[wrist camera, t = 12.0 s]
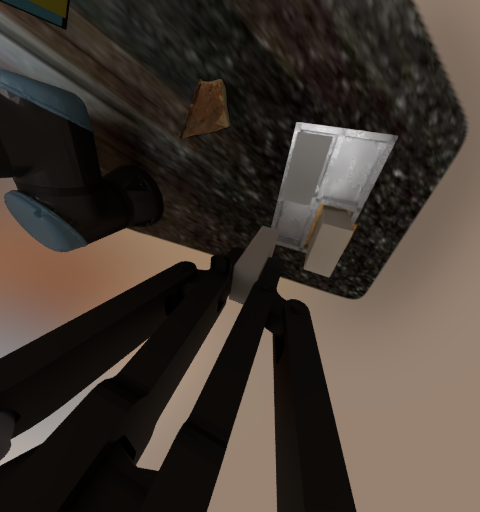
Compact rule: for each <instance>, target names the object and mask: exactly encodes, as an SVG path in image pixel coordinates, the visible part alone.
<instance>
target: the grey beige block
mask: <svg viewBox="0 0 480 512" xmlns="http://www.w3.org/2000/svg"><path fill="white" fill-rule="evenodd" d="M353 232H354V231H353V227H352V224H351V221H350V217H349V214H348V210H345V209H341V208H337V207H332V206H328V205H323V208H322V210H321V213H320V215H319V218H318V220H317V223H316V225H315V228H314V230H313V233H312V236H311V238H310V241H309V243H308V249H307V254H306V259H305V264H304V269H305V270H308V271H311V272H314V273H317V274H320V275H323V276H326V277H330V275H331V273H332V272H333V270H334V268H335V266H336V264H337V262H338V260H339V258H340V256H341V255H342V253H343V251H344V249H345V247H346V245H347V243H348V241H349V240H350V238H351V236H352V234H353Z"/></svg>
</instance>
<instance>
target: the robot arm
mask: <svg viewBox="0 0 480 512" xmlns="http://www.w3.org/2000/svg"><path fill="white" fill-rule="evenodd" d="M93 133H94V130H93V129H92V127H91V124H90V120H89V116H88V112H87V109H86V106H85V104H84V103H83V101H82V100H81V99H80V98H79V97H78V96H77V95H75V94H74V93H72V92H69V91H67V90H64V89H61V88H58V87H55V86H52V85H49V84H46V83H43V82H40V81H37V80H34V79H31V78H28V77H25V76H22V75H19V74H16V73H13V72H10V71H7V70H4V69H0V178H9V177H12V178H13V180H14V182H15V184H16V186H17V189H18V190H11V191H10V192H8V193H6V194H5V195H4V199H5V204H6V206H7V208H8V210H9V211H10V213H11V214H12V215H13V217H14V218H15V219H16V220H17V222H18V223H19V224H20V225H21V226H22V227H23V228H24V229H25V230H26V231H27V232H28V233H29V234H30V235H31V236H32V237H34V238H35V239H36V240H37V241H39V242H40V243H42V244H43V245H44V246H46V247H48V248H50V249H52V250H54V251H58V252H68V251H71V250H74V249H77V248H80V247H84V246H87V245H88V244H90V243H92V242H94V241H97V240H99V239H101V238H104V237H106V236H108V235H111V234H113V233H115V232H118V231H120V230H122V229H125V228H130V227H146V226H149V225H152V224H154V223H156V222H157V221H159V219H160V218H161V216H162V213H163V201H162V196H161V193H160V191H159V189H158V187H157V185H156V183H155V182H154V180H153V179H152V178H151V177H150V176H149V175H148V174H147V173H146V172H145V171H144V170H142V169H141V168H139V167H136V166H131V165H129V166H121V167H118V168H116V169H114V170H113V171H111V172H109V173H108V174H106V175H105V176H103V177H102V176H101V171H100V166H99V162H98V156H97V151H96V146H95V141H94V136H93ZM278 234H279V230H276V229H272V228H269V227H265V226H262V227H261V229H260V230H259V232H258V233H257V234H256V236H255V237H254V239H253V240H252V241H251V243H250V244H249V246H248V247H247V249H246V250H245V249H242V248H239V247H235V248H233V249H231V250H230V252H229V253H228V254H227V255H214V256H212V257H211V267H210V269H209V270H199V269H197V268H196V265H195V264H194V263H192V262H188V261H184V262H180V263H177V264H175V265H174V266H172V267H170V268H168V269H166V270H164V271H162V272H161V273H159V274H157V275H155V276H153V277H151V278H149V279H147V280H145V281H144V282H142V283H140V284H138V285H136V286H135V287H133V288H131V289H129V290H127V291H125V292H124V293H122V294H120V295H118V296H116V297H114V298H112V299H110V300H108V301H106V302H105V303H103V304H101V305H99V306H97V307H95V308H93V309H92V310H90V311H88V312H86V313H84V314H82V315H81V316H79V317H77V318H75V319H73V320H71V321H69V322H67V323H66V324H64V325H62V326H60V327H58V328H56V329H55V330H52V331H51V332H49V333H47V334H45V335H43V336H41V337H40V338H38V339H36V340H34V341H32V342H30V343H28V344H26V345H25V346H23V347H21V348H19V349H17V350H15V351H13V352H12V353H10V354H8V355H6V356H4V357H2V358H0V460H1V459H2V458H3V457H5V455H6V454H7V453H8V451H9V450H10V447H11V441H10V440H11V439H12V438H14V437H16V436H17V435H19V434H21V433H23V432H25V431H26V430H28V429H30V428H31V427H33V426H34V425H36V424H37V423H39V422H41V421H42V420H44V419H45V418H47V417H48V416H50V415H51V414H52V413H54V412H55V411H56V410H58V409H59V408H60V407H61V406H63V405H64V404H66V403H67V402H68V401H69V400H71V399H72V398H73V397H74V396H76V395H77V394H78V393H79V392H81V391H82V390H83V389H85V388H86V387H87V386H88V385H90V384H91V383H92V382H94V381H95V380H96V379H97V378H99V377H100V376H101V375H102V374H104V373H105V372H106V371H108V369H110V368H111V367H113V366H114V365H115V364H116V363H118V362H119V361H120V360H121V359H123V358H124V357H125V356H127V354H129V353H130V352H132V351H133V350H134V349H135V348H137V347H138V346H139V345H140V344H142V343H143V342H144V341H146V340H147V339H148V338H149V337H150V338H149V339H148V340H147V341H146V342H145V343H144V345H143V346H142V347H141V348H140V349H139V350H138V352H137V353H136V354H135V355H134V356H133V357H132V358H131V360H130V361H129V362H128V363H127V364H126V365H125V366H124V367H123V369H122V370H121V371H120V372H119V373H118V374H117V375H116V376H114V377H113V378H110V379H105V380H104V381H102V382H101V383H99V384H98V385H97V386H96V387H95V388H94V389H93V390H91V392H90V393H89V394H88V395H87V396H86V397H85V398H84V399H83V400H82V401H81V402H80V404H79V405H78V406H77V407H76V408H75V409H74V410H73V411H72V412H71V413H70V414H69V415H68V417H67V418H66V419H65V420H64V421H63V422H62V423H61V424H60V425H59V426H58V427H57V428H56V430H55V431H54V432H53V433H52V434H51V435H50V436H49V437H48V438H47V439H46V440H45V441H44V442H43V443H42V444H40V445H38V446H36V447H35V448H33V449H31V450H29V451H27V452H25V453H23V454H21V455H19V456H18V457H16V458H14V459H12V460H10V461H8V462H6V463H4V464H3V465H1V466H0V512H207V509H208V506H209V503H210V500H211V496H212V493H213V490H214V487H215V483H216V480H217V477H218V474H219V471H220V468H221V464H222V461H223V458H224V455H225V451H226V448H227V444H228V441H229V437H230V434H231V431H232V428H233V425H234V422H235V418H236V415H237V412H238V409H239V406H240V403H241V400H242V396H243V393H244V390H245V387H246V384H247V380H248V377H249V374H250V371H251V367H252V364H253V361H254V358H255V355H256V352H257V349H258V346H259V342H260V339H261V336H262V333H263V330H264V327H265V328H266V329H268V330H269V331H270V332H272V333H273V368H274V405H275V406H274V407H275V444H276V484H277V512H356V508H355V504H354V499H353V496H352V492H351V487H350V483H349V478H348V474H347V470H346V465H345V461H344V457H343V452H342V448H341V444H340V440H339V435H338V432H337V427H336V423H335V418H334V414H333V410H332V405H331V402H330V397H329V393H328V388H327V384H326V380H325V376H324V372H323V367H322V363H321V358H320V354H319V350H318V346H317V341H316V338H315V333H314V329H313V324H312V320H311V316H310V311H309V309H308V307H307V306H306V305H305V304H304V303H303V302H301V301H299V300H296V299H290V300H287V301H286V300H285V299H283V298H282V297H281V296H280V295H279V294H278V292H277V289H276V288H277V284H278V281H279V278H280V275H281V272H282V268H283V263H282V261H281V260H278V259H275V258H272V255H273V251H274V248H275V244H276V241H277V238H278ZM229 294H230V295H229ZM228 296H229V299H231V300H233V301H236V302H239V303H241V304H243V307H242V309H241V311H240V313H239V315H238V317H237V319H236V321H235V323H234V326H233V328H232V330H231V332H230V334H229V336H228V338H227V340H226V342H225V344H224V346H223V348H222V350H221V352H220V354H219V357H218V358H217V361H216V363H215V365H214V367H213V369H212V371H211V373H210V375H209V377H208V379H207V381H206V383H205V385H204V388H203V390H202V391H201V394H200V396H199V398H198V400H197V402H196V404H195V406H194V408H193V410H192V412H191V414H190V416H189V418H188V419H187V421H186V422H185V423H184V424H183V426H182V427H181V429H180V430H179V432H178V434H177V436H176V438H175V440H174V442H173V444H172V446H171V448H170V450H169V452H168V454H167V456H166V458H165V460H164V462H163V464H162V466H161V468H160V470H159V471H155V470H149V469H144V468H138V467H137V466H136V464H137V462H138V460H139V458H140V457H141V455H142V453H143V452H144V450H145V448H146V446H147V444H148V443H149V441H150V439H151V436H152V434H153V431H154V428H155V425H156V423H157V421H158V419H159V417H160V415H161V413H162V412H163V410H164V409H165V407H166V405H167V403H168V402H169V400H170V398H171V397H172V395H173V393H174V391H175V390H176V388H177V386H178V385H179V383H180V381H181V380H182V378H183V376H184V374H185V373H186V371H187V369H188V368H189V366H190V364H191V363H192V361H193V359H194V357H195V356H196V354H197V352H198V351H199V349H200V347H201V345H202V344H203V342H204V340H205V339H206V337H207V335H208V333H209V332H210V330H211V328H212V327H213V325H214V323H215V322H216V320H217V318H218V316H219V315H220V313H221V311H222V310H223V308H224V306H225V304H226V300H227V297H228Z"/></svg>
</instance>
